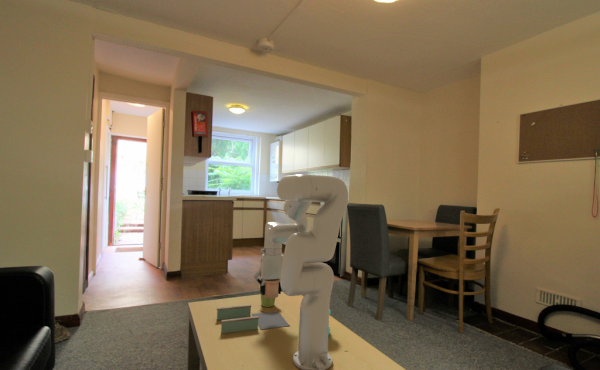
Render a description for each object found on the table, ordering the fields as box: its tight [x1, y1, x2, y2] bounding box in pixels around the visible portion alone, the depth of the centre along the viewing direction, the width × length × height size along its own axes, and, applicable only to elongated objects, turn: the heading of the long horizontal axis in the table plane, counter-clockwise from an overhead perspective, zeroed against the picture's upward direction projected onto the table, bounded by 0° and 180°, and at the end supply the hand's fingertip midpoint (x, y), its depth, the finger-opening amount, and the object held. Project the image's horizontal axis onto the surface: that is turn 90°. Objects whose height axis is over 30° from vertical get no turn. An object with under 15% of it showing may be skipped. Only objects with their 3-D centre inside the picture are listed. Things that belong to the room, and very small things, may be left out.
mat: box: [251, 310, 290, 331], centre depth 131 cm, size 16×12×1 cm
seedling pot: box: [263, 279, 280, 299], centre depth 132 cm, size 7×7×7 cm
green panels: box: [216, 304, 259, 334], centre depth 126 cm, size 14×14×5 cm
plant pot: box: [258, 285, 276, 308], centre depth 149 cm, size 9×9×9 cm
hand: (270, 293), depth 132 cm, fingers closed on seedling pot, 6 cm apart
